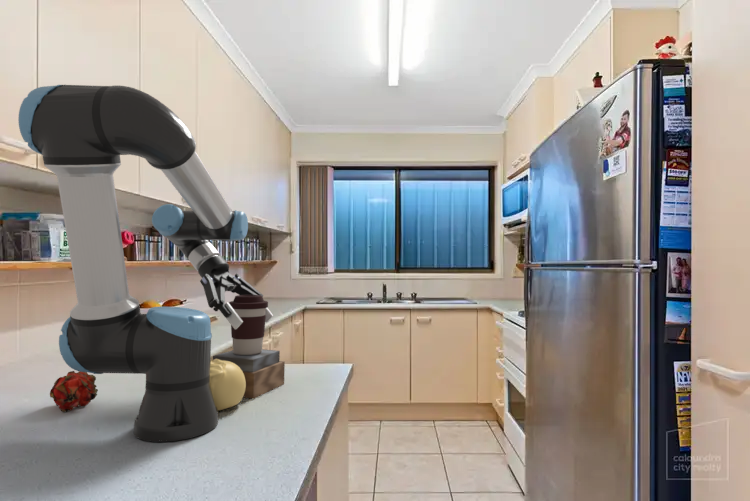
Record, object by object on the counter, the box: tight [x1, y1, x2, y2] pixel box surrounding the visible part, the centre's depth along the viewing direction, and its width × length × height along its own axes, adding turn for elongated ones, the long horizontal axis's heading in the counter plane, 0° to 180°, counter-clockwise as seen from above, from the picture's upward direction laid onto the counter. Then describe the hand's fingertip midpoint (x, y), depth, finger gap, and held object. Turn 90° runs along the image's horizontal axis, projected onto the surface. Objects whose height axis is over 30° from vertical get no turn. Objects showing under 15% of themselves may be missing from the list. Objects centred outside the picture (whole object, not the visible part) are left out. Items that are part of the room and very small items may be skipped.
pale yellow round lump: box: [210, 359, 246, 412], centre depth 100 cm, size 12×12×11 cm
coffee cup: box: [228, 294, 269, 355], centre depth 115 cm, size 10×10×15 cm
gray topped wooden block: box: [212, 348, 286, 399], centre depth 115 cm, size 14×14×9 cm
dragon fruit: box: [49, 370, 99, 413], centre depth 98 cm, size 8×8×12 cm
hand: (255, 322), depth 114 cm, fingers open, 13 cm apart
